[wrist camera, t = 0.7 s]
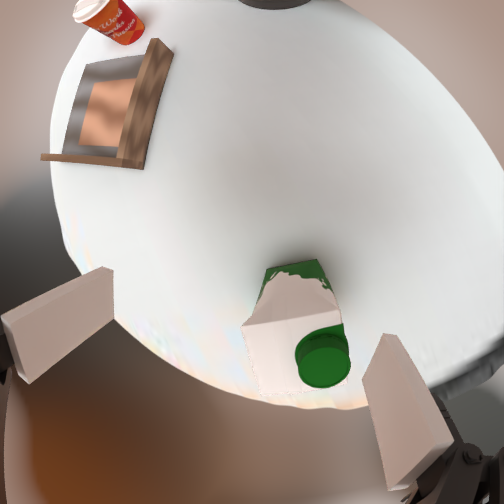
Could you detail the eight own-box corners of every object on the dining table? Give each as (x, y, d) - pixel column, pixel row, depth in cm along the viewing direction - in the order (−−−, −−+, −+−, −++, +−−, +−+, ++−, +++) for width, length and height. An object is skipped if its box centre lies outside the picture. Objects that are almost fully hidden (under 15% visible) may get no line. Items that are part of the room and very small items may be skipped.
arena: (88, 65, 35) (69, 56, 29) (174, 54, 33) (158, 37, 27) (62, 161, 39) (40, 160, 34) (143, 169, 38) (121, 167, 32)
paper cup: (114, 56, 34) (66, 28, 20) (115, 29, 33) (74, -1, 19) (150, 39, 33) (107, 1, 19) (150, 12, 31) (113, -25, 18)
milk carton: (331, 308, 38) (357, 402, 18) (271, 320, 39) (251, 417, 20) (321, 250, 36) (351, 311, 17) (257, 264, 38) (222, 333, 19)
